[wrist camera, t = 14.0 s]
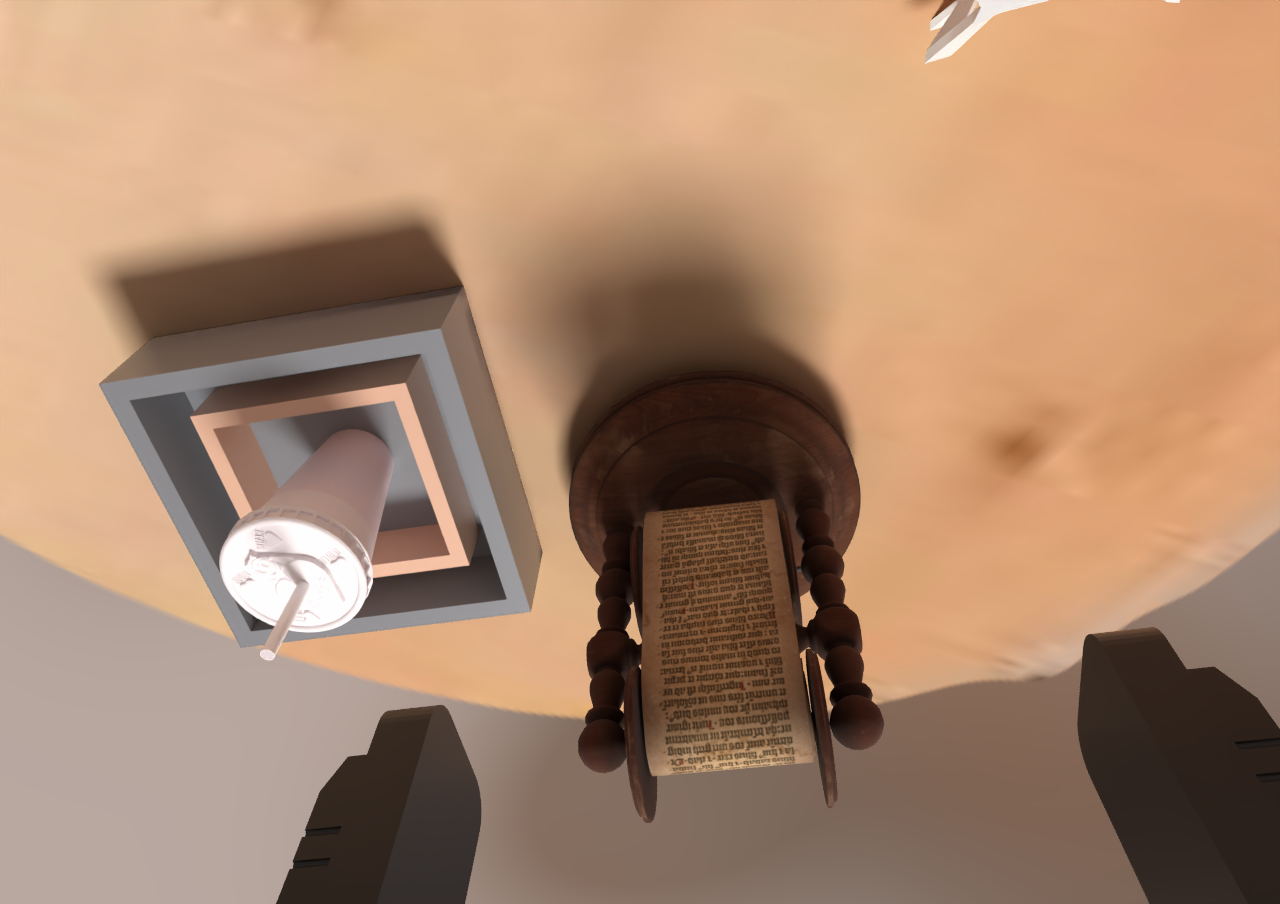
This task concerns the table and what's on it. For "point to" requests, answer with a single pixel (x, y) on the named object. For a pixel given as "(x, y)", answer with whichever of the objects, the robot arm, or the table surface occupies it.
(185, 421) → the socket box
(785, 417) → the scroll
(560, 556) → the table surface
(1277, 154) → the table surface
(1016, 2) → the origami figure
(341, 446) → the smoothie
